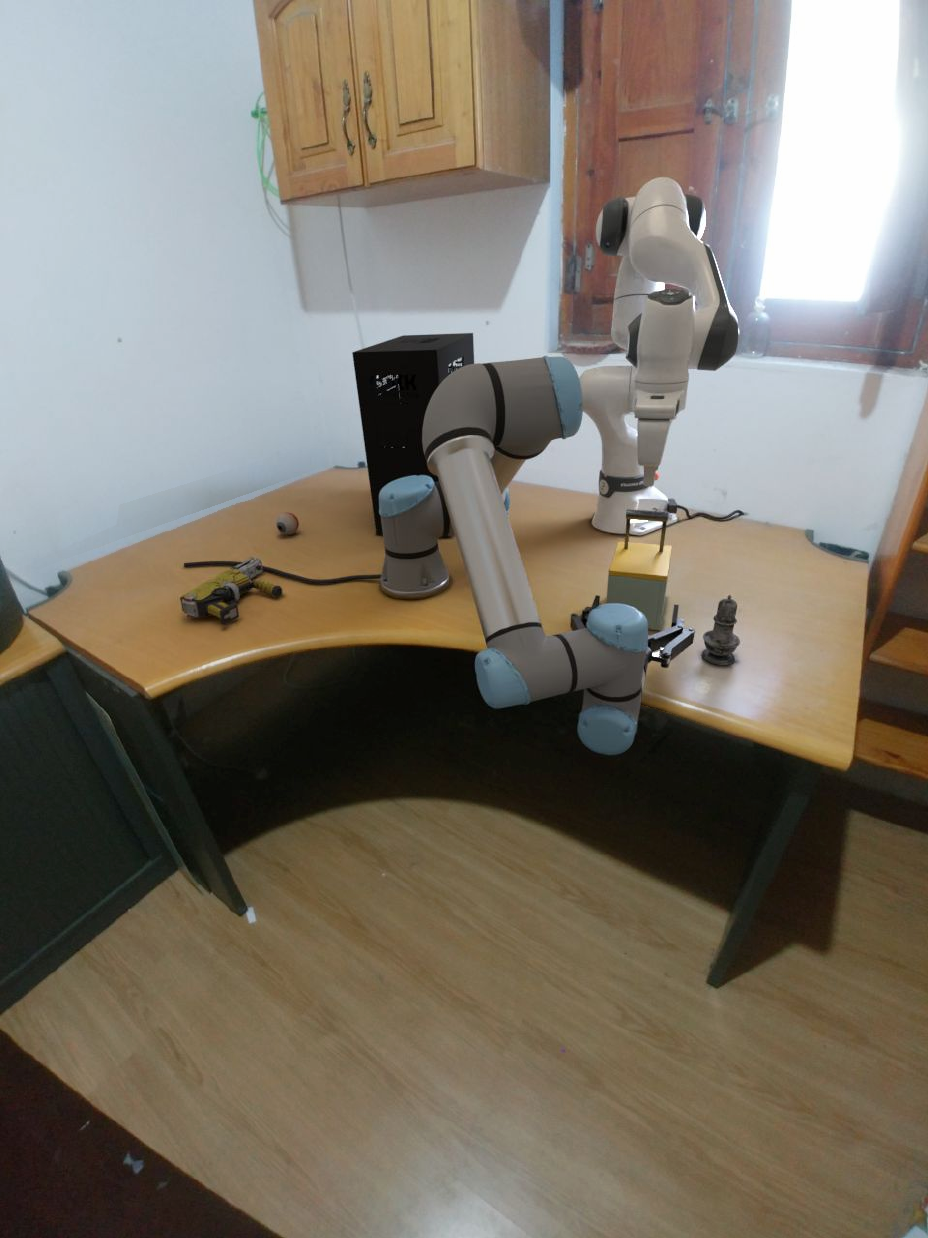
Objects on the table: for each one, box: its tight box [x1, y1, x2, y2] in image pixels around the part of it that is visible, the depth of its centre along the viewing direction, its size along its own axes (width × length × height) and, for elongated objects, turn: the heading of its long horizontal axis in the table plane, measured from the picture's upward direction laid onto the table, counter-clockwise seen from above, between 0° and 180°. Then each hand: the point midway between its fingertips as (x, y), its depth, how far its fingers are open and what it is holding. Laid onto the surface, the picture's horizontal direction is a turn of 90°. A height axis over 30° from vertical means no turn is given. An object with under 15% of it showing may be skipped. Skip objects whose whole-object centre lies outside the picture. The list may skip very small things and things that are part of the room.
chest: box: [605, 557, 671, 632], centre depth 117 cm, size 14×10×10 cm
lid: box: [607, 509, 673, 582], centre depth 112 cm, size 14×10×9 cm
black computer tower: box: [351, 332, 475, 539], centre depth 164 cm, size 38×20×45 cm, turn 167°
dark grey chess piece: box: [701, 594, 741, 666], centre depth 101 cm, size 6×6×12 cm
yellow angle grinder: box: [179, 556, 283, 625], centre depth 132 cm, size 5×24×15 cm
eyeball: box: [275, 511, 300, 536], centre depth 163 cm, size 6×6×6 cm
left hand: (635, 606), depth 108 cm, fingers open, 13 cm apart
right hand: (650, 477), depth 110 cm, fingers open, 8 cm apart
